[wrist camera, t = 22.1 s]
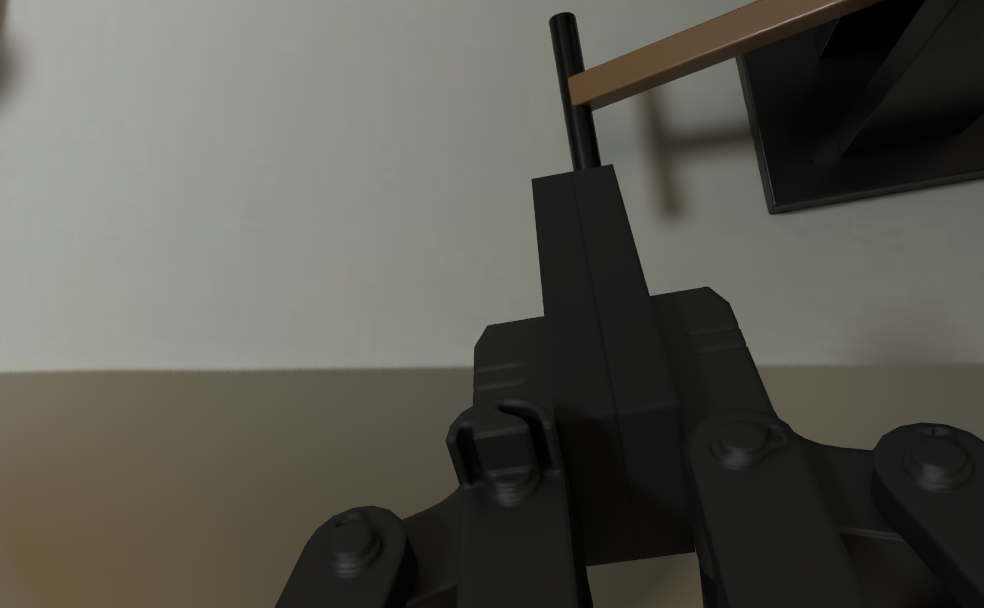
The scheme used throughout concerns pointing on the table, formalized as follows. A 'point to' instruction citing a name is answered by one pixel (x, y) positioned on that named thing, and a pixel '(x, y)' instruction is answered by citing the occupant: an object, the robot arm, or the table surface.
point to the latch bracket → (869, 103)
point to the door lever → (671, 58)
